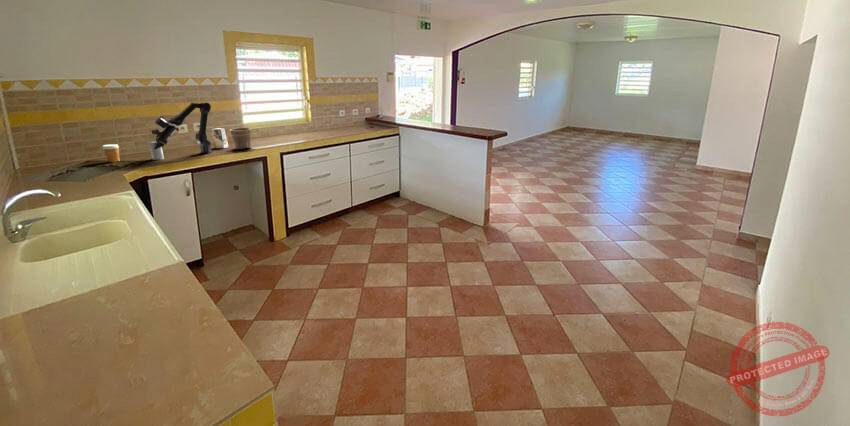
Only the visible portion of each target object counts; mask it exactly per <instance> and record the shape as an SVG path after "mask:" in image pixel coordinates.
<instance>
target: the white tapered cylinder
mask: <svg viewBox="0 0 850 426" xmlns="http://www.w3.org/2000/svg"><path fill="white" fill-rule="evenodd" d="M156 144H157V142H156V141H149V142H148V145H149V149H150V154H151V157H152V161H160V160H164V159H165V157H164V153H163V146H162V147H160V148H158V149H156V150H155V149H154V147H155V146H156Z"/></svg>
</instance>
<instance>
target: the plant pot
mask: <svg viewBox="0 0 850 426" xmlns="http://www.w3.org/2000/svg"><path fill="white" fill-rule="evenodd" d="M229 131H230V135H232V140H233V144H234V147H235V149H236V150H246V149H245V148H249V149H251V148H252V144H251V127H236V128H230V129H229Z"/></svg>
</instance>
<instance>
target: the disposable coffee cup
mask: <svg viewBox="0 0 850 426" xmlns="http://www.w3.org/2000/svg"><path fill="white" fill-rule="evenodd" d="M102 149H103V151H104V153H105V157H106V158H107V161H108V163H111V162H112V163H118V162H117V161H119V162H120V161H121V160H120V150H119V145H118V144H117V143H112V144H110V143H109V144H104V145H102Z"/></svg>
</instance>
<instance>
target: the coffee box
mask: <svg viewBox="0 0 850 426" xmlns="http://www.w3.org/2000/svg"><path fill="white" fill-rule="evenodd" d="M211 134H212V139H213V145H214V149H227V148H229V143H228V142H229V141H228V137H227V132H226V128H224V127H223V128H220V127H219V128H217V127H216V128H211Z"/></svg>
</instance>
